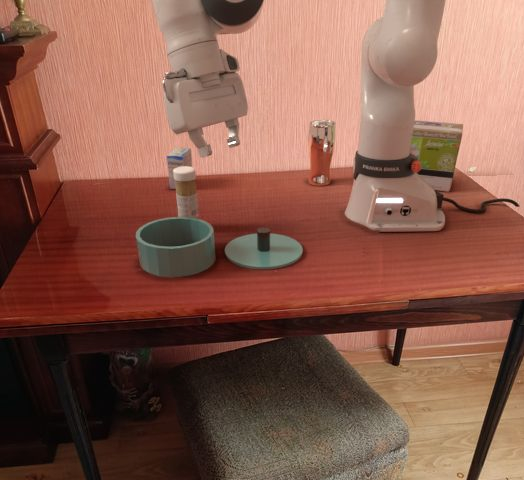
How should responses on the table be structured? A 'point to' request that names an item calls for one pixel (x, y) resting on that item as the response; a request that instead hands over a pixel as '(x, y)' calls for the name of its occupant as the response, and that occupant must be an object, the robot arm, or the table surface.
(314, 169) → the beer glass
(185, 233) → the pan
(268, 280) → the table surface
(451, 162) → the tea box
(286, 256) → the pan lid
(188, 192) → the sprinkles bottle
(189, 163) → the medicine box
